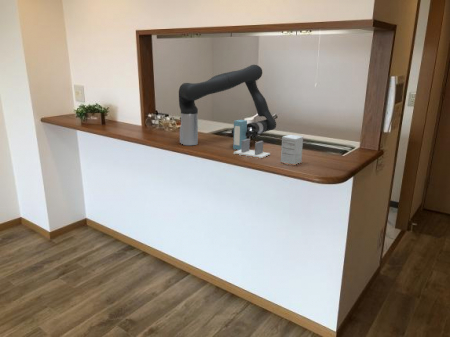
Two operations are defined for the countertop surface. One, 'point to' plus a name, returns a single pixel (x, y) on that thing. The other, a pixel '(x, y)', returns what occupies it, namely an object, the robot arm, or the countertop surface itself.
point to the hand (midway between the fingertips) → (239, 133)
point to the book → (239, 133)
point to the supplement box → (291, 149)
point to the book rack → (256, 153)
